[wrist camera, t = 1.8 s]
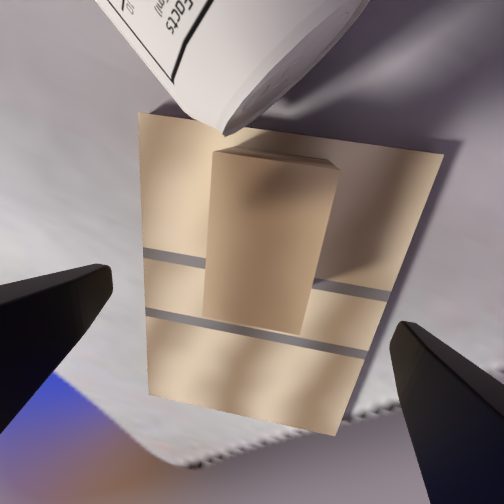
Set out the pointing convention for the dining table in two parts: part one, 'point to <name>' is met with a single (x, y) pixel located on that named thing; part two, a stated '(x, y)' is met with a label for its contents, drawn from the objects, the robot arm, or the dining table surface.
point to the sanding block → (265, 235)
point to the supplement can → (231, 49)
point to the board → (323, 288)
